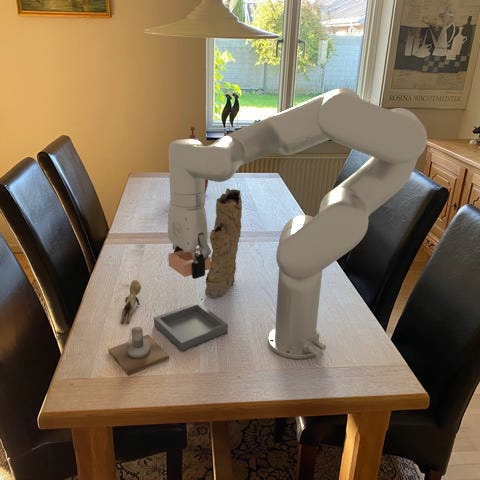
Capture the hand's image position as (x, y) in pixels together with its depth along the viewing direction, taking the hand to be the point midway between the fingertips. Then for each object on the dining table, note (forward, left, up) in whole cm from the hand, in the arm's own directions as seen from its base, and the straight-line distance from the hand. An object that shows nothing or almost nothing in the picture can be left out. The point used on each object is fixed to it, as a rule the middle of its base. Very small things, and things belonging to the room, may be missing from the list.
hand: (189, 270), depth 115 cm
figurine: (+18, +7, -17) cm, 25 cm away
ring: (0, 0, +1) cm, 1 cm away
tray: (0, 0, -17) cm, 17 cm away
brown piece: (-2, +15, -17) cm, 22 cm away
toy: (+88, -57, -17) cm, 106 cm away
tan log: (+10, -17, -17) cm, 26 cm away
